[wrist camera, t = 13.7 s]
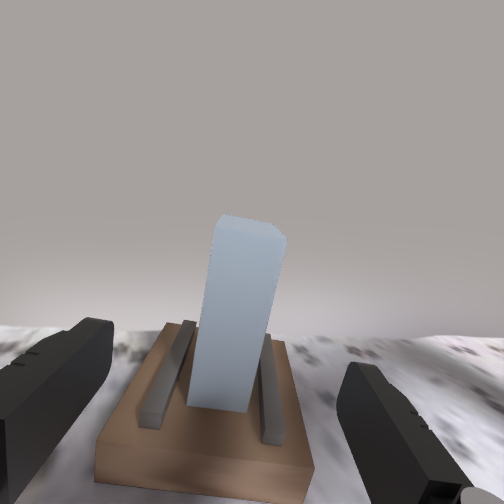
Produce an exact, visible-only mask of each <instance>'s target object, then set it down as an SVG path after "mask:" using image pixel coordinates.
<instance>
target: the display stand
mask: <svg viewBox="0 0 504 504" xmlns="http://www.w3.org/2000/svg"><path fill="white" fill-rule="evenodd" d="M196 323H197V322H194V321H188V320H184V321H183V323H182V325H180V324H174V323H166V325H165V326H164V328H163V330H162V331H161V333H160V335H159V336H158V338H157V340H156V341H155V343H154V345H153V346H152V348H151V350H150V351H149V353H148V355H147V357H146V358H145V360H144V362H143V363H142V365H141V367H140V368H139V370H138V372H137V373H136V375H135V377H134V378H133V380H132V382H131V383H130V385H129V387H128V388H127V390H126V392H125V393H124V395H123V397H122V398H121V400H120V402H119V403H118V405H117V407H116V408H115V410H114V412H113V413H112V415H111V417H110V418H109V420H108V422H107V423H106V425H105V427H104V428H103V430H102V432H101V433H100V435H99V437H98V438H97V440H96V454H95V471H94V482H100V483H108V484H117V485H125V486H133V487H142V488H150V489H159V490H167V491H175V492H184V493H192V494H200V495H209V496H217V497H226V498H234V499H242V500H251V501H259V502H267V503H276V504H303V502H304V499H305V496H306V493H307V490H308V487H309V484H310V481H311V478H312V475H313V472H314V469H315V468H314V464H313V460H312V456H311V451H310V447H309V443H308V439H307V435H306V431H305V427H304V422H303V418H302V414H301V410H300V406H299V402H298V397H297V393H296V389H295V385H294V381H293V377H292V373H291V368H290V364H289V360H288V356H287V352H286V348H285V343H284V341H278V340H272V339H271V335H270V334H267V333H265V337H264V341H263V346H262V350H261V354H260V358H259V363H258V367H257V371H256V375H255V380H254V384H253V388H252V392H251V396H250V401H249V405H248V409H247V413H244V412H235V411H227V410H218V409H210V408H201V407H193V406H186V405H187V399H188V393H189V387H190V380H191V374H192V368H193V360H194V354H195V348H196V342H197V335H198V329H199V328H198V327H196Z"/></svg>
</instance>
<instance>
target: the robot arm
mask: <svg viewBox="0 0 504 504" xmlns="http://www.w3.org/2000/svg"><path fill="white" fill-rule="evenodd" d="M113 337H114V324H113V322H112V321H108V320H102V319H95V318H89V317H87V318H85V319H83V320H82V321H80V322H79V323H78V324H77V325H76V326H74V327H73V328H72V329H70V330H69V331H64V330H63V331H60V332H58V333H56V334H53V335H51V336H49V337H46V338H44V339H42V340H41V341H39V342H38V343H37V344H35V345H34V346H33V347H31V348H30V349H28V350H27V351H26V353H25V354H22V355H20V356H19V357H17V358H16V359H15V360H13V361H12V362H11V364H10V365H6V366H5V367H4V368H2V369H1V370H0V504H14V502H15V501H16V500H17V498H18V497H19V496H20V494H21V493H22V492H23V490H24V489H25V487H26V486H27V485H28V483H29V482H30V481H31V479H32V478H33V477H34V475H35V474H36V473H37V471H38V470H39V469H40V467H41V466H42V465H43V463H44V462H45V461H46V459H47V458H48V457H49V455H50V454H51V453H52V451H53V450H54V449H55V447H56V446H57V445H58V443H59V442H60V441H61V439H62V438H63V437H64V435H65V434H66V433H67V431H68V430H69V429H70V427H71V426H72V425H73V423H74V422H75V420H76V419H77V418H78V416H79V415H80V414H81V412H82V411H83V410H84V408H85V407H86V406H87V404H88V403H89V402H90V400H91V399H92V398H93V396H94V395H95V394H96V392H97V391H98V390H99V388H100V387H101V386H102V384H103V383H104V381H105V380H106V378H107V376H108V373H109V371H110V367H111V363H112V351H113ZM336 409H337V416H338V419H339V422H340V425H341V427H342V430H343V432H344V435H345V437H346V440H347V442H348V445H349V447H350V450H351V453H352V455H353V458H354V460H355V463H356V465H357V468H358V470H359V473H360V475H361V478H362V481H363V483H364V486H365V488H366V491H367V493H368V496H369V498H370V501H371V504H504V501H503V500H501V499H500V498H498V497H497V496H495V495H493V494H491V493H489V492H487V491H485V490H483V489H480V488H476V487H474V485H473V484H472V483H471V481H470V480H469V479H468V477H467V476H466V475H465V474H464V472H463V471H462V470H461V468H460V467H459V466H458V464H457V463H456V462H455V460H454V459H453V458H452V456H451V455H450V454H449V452H448V451H447V450H446V449H445V447H444V446H443V445H442V443H441V442H440V441H439V439H438V438H437V437H436V435H435V434H434V433H433V431H432V430H429V428H428V425H427V424H426V422H425V421H424V420H423V418H422V417H421V416H419V415H418V412H417V410H416V409H415V408H414V406H413V405H412V404H411V403H410V401H409V400H408V399H407V397H406V396H404V395H403V394H402V393H401V392H400V391H399V390H398V389H396V388H395V387H394V386H393V385H392V384H389V382H388V381H387V380H386V378H385V377H384V375H383V374H382V373H381V371H380V370H379V369H378V367H377V366H375V365H371V364H365V363H359V362H351V363H350V364H349V365H348V368H347V371H346V373H345V376H344V379H343V382H342V385H341V388H340V391H339V394H338V397H337V403H336Z"/></svg>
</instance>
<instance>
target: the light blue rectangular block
mask: <svg viewBox="0 0 504 504" xmlns="http://www.w3.org/2000/svg"><path fill="white" fill-rule="evenodd" d="M286 244H287V238H286V237H285V236H284V235H283V234H282V233H281V232H280V231H279V230H278V229H277V227H276V226H275V225H274V224H271V223H266V222H261V221H256V220H250V219H245V218H240V217H235V216H230V215H224V214H223V215H222V217H221V218H220V220H219V221H218V223H217V224H216V226H215V232H214V238H213V243H212V249H211V255H210V261H209V268H208V274H207V281H206V286H205V292H204V298H203V305H202V311H201V317H200V323H199V329H198V335H197V342H196V348H195V354H194V360H193V368H192V374H191V380H190V387H189V393H188V399H187V405H186V406H193V407H201V408H210V409H218V410H227V411H235V412H244V413H247V409H248V405H249V401H250V396H251V392H252V388H253V384H254V380H255V375H256V371H257V367H258V363H259V358H260V354H261V350H262V346H263V341H264V337H265V333H266V328H267V324H268V320H269V316H270V311H271V307H272V303H273V299H274V294H275V290H276V286H277V282H278V278H279V273H280V269H281V265H282V261H283V256H284V252H285V248H286Z"/></svg>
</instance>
